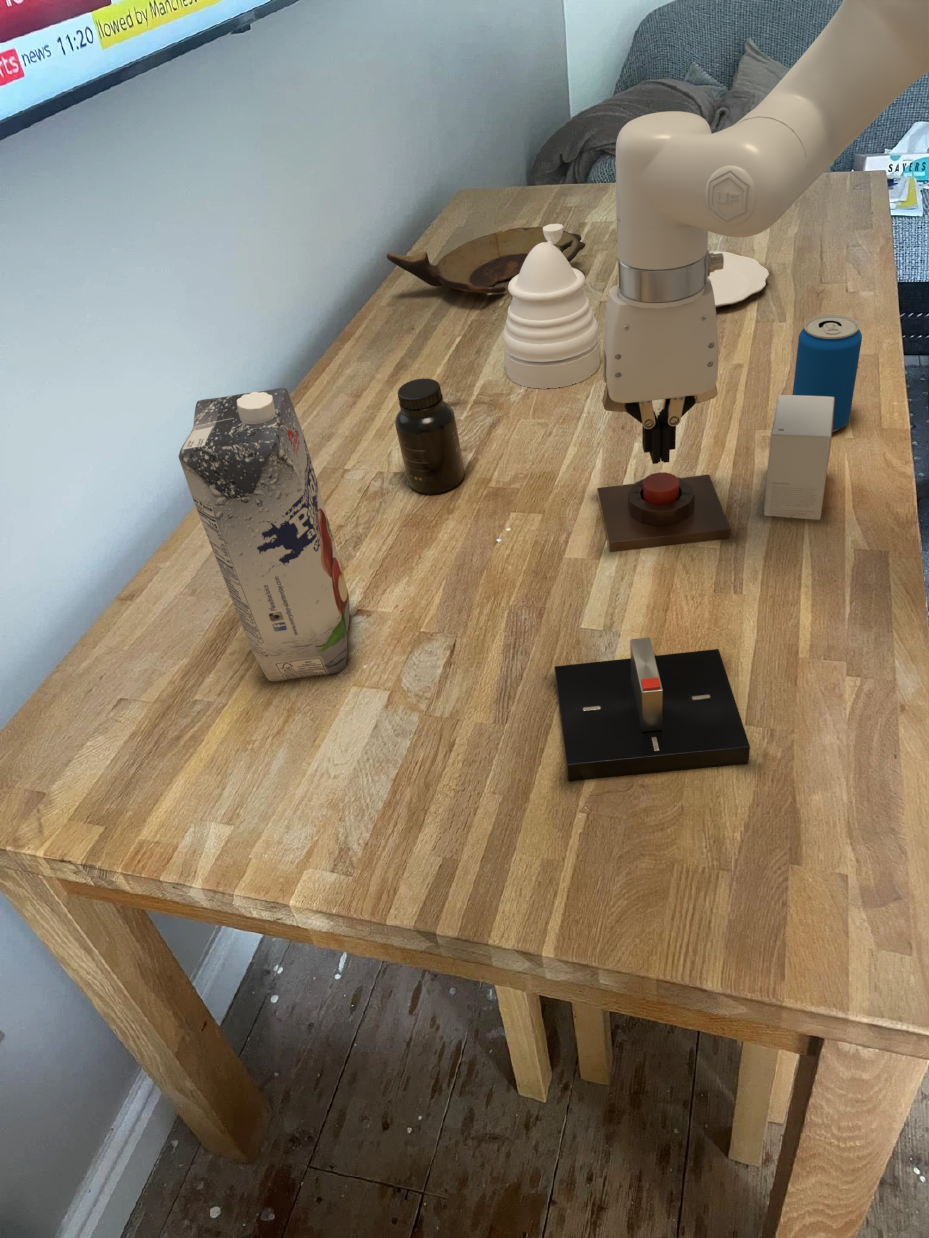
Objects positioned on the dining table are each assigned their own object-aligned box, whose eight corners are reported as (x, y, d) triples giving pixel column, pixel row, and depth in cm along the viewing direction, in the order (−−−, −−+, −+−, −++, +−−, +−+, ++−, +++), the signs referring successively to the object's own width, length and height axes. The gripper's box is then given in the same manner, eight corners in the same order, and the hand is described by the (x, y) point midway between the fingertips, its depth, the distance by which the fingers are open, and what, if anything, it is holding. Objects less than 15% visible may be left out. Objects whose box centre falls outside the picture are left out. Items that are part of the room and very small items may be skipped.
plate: (609, 317, 138) (608, 306, 137) (641, 261, 152) (641, 250, 151) (756, 321, 131) (757, 309, 130) (775, 262, 145) (776, 251, 144)
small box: (819, 528, 95) (832, 437, 88) (761, 523, 97) (770, 434, 90) (824, 483, 100) (836, 395, 93) (769, 480, 102) (777, 392, 95)
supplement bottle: (430, 459, 115) (414, 368, 107) (476, 471, 111) (462, 379, 103) (396, 488, 111) (376, 396, 103) (442, 501, 107) (425, 408, 100)
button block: (708, 491, 102) (709, 459, 99) (729, 546, 95) (731, 513, 92) (597, 504, 103) (596, 473, 100) (609, 560, 95) (608, 528, 93)
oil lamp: (570, 311, 141) (567, 260, 136) (385, 313, 150) (375, 265, 145) (596, 253, 157) (594, 206, 152) (427, 258, 166) (420, 213, 161)
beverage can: (842, 407, 111) (856, 310, 103) (853, 436, 106) (869, 336, 98) (785, 411, 112) (795, 315, 104) (794, 439, 107) (805, 341, 99)
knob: (630, 678, 78) (629, 636, 75) (650, 676, 78) (650, 634, 75) (642, 732, 74) (641, 690, 71) (662, 730, 74) (662, 688, 71)
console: (717, 673, 82) (718, 647, 80) (747, 772, 73) (750, 745, 71) (556, 690, 83) (554, 664, 81) (569, 789, 74) (566, 763, 72)
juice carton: (260, 697, 87) (159, 445, 70) (272, 622, 95) (184, 380, 77) (354, 684, 87) (277, 427, 69) (358, 611, 95) (290, 364, 77)
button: (675, 484, 98) (675, 470, 96) (682, 503, 95) (682, 489, 94) (640, 488, 98) (640, 474, 97) (646, 508, 95) (646, 493, 94)
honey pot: (549, 337, 136) (538, 208, 124) (619, 358, 128) (615, 223, 116) (487, 373, 130) (470, 242, 118) (557, 398, 122) (546, 260, 110)
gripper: (738, 247, 84) (726, 428, 96) (570, 269, 85) (579, 445, 97) (759, 280, 78) (743, 468, 90) (579, 303, 79) (587, 485, 91)
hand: (658, 455), depth 93 cm, fingers closed
